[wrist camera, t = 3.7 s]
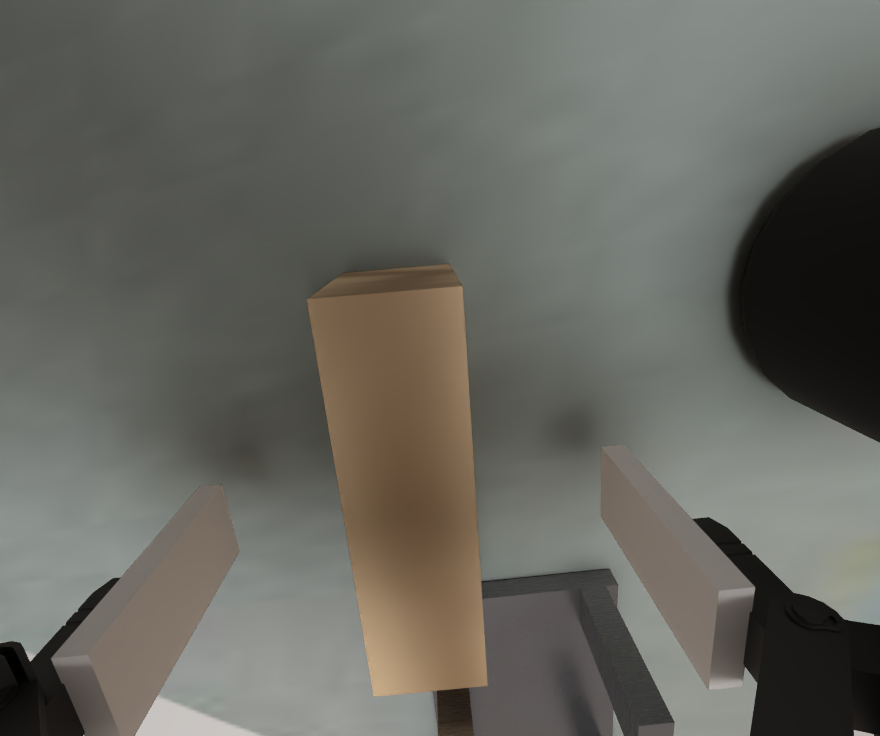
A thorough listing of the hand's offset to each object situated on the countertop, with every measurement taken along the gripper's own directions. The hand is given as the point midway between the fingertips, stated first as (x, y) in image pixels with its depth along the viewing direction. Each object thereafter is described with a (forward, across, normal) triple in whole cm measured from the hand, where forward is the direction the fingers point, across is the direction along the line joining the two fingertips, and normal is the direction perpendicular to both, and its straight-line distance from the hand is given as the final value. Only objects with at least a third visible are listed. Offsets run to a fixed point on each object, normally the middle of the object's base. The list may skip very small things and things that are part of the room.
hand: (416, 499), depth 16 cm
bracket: (+4, +4, -13) cm, 15 cm away
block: (+4, 0, +1) cm, 4 cm away
